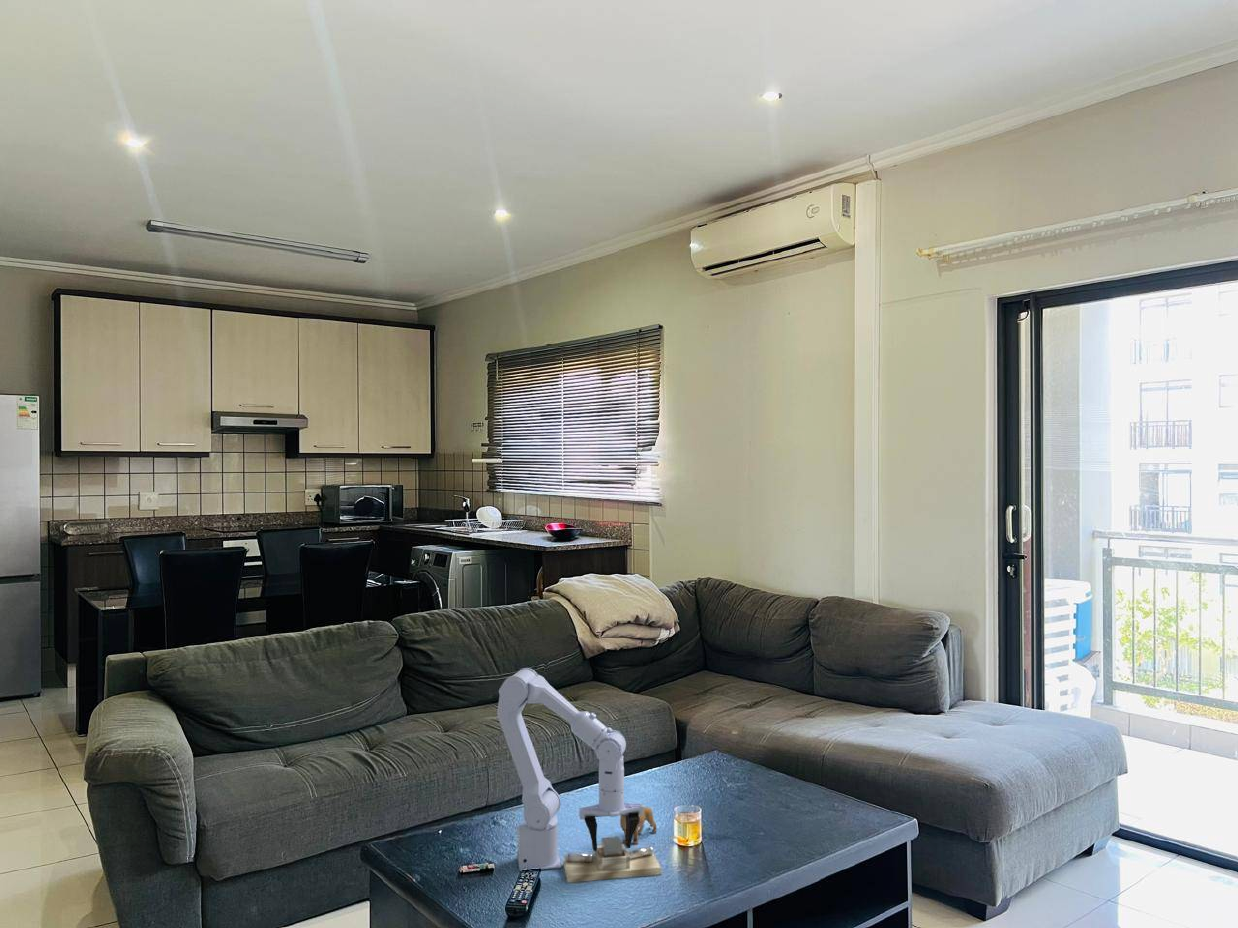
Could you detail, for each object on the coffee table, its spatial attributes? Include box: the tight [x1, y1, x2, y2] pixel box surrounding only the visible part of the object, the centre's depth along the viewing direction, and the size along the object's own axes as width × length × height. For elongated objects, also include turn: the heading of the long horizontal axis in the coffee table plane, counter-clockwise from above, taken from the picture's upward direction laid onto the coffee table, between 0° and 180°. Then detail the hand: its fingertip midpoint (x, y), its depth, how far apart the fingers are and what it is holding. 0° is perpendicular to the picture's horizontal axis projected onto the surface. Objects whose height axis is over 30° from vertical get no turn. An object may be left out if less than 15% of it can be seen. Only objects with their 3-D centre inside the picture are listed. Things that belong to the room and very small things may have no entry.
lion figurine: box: [619, 806, 657, 845], centre depth 216 cm, size 15×5×9 cm, turn 152°
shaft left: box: [563, 852, 594, 862], centre depth 199 cm, size 7×2×2 cm, turn 86°
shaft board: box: [562, 843, 662, 884], centre depth 199 cm, size 21×9×4 cm, turn 101°
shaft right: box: [627, 845, 655, 859], centre depth 202 cm, size 7×2×2 cm, turn 116°
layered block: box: [600, 836, 623, 858], centre depth 199 cm, size 4×4×5 cm
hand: (611, 847), depth 199 cm, fingers open, 7 cm apart
